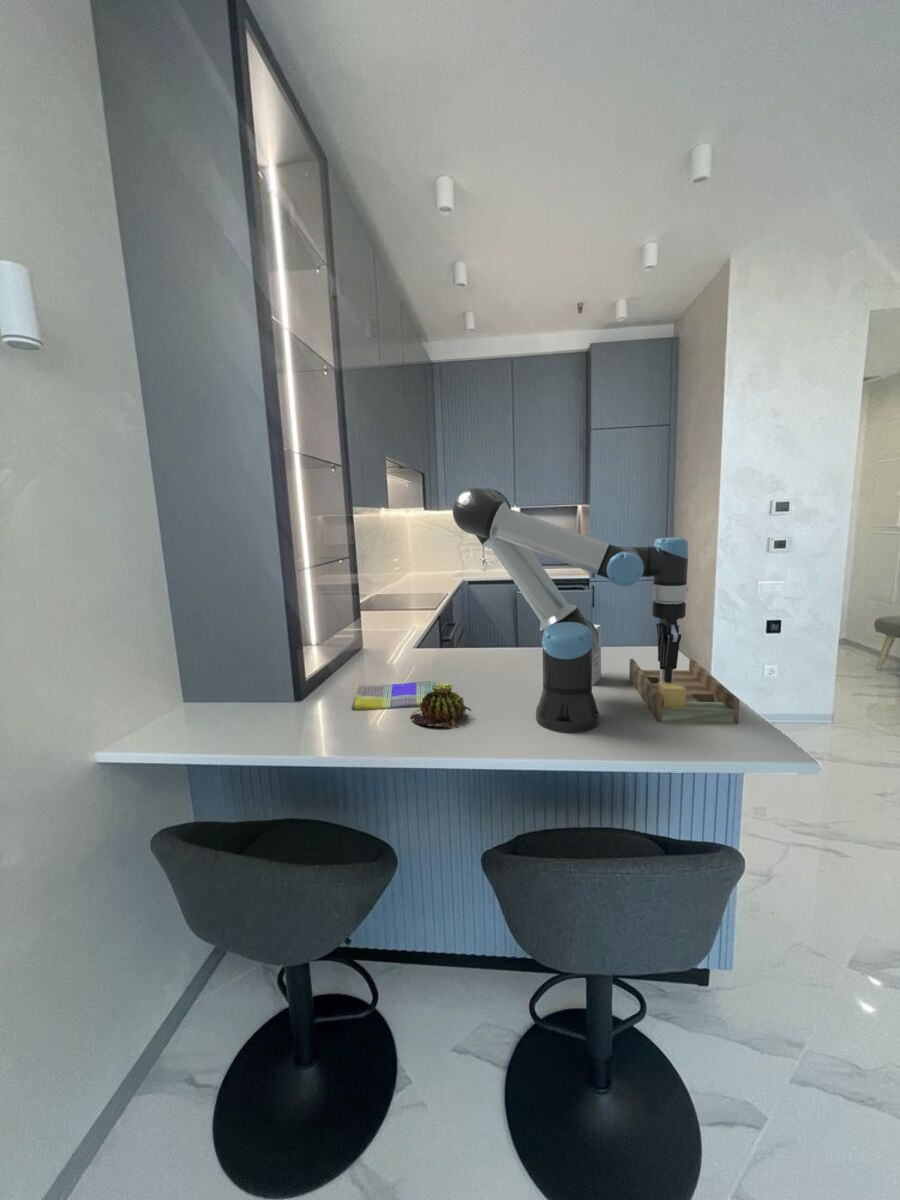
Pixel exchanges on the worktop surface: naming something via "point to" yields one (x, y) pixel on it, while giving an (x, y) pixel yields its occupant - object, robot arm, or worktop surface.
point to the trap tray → (687, 696)
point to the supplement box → (597, 658)
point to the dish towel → (391, 695)
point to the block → (672, 694)
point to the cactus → (441, 708)
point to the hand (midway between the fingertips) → (665, 692)
